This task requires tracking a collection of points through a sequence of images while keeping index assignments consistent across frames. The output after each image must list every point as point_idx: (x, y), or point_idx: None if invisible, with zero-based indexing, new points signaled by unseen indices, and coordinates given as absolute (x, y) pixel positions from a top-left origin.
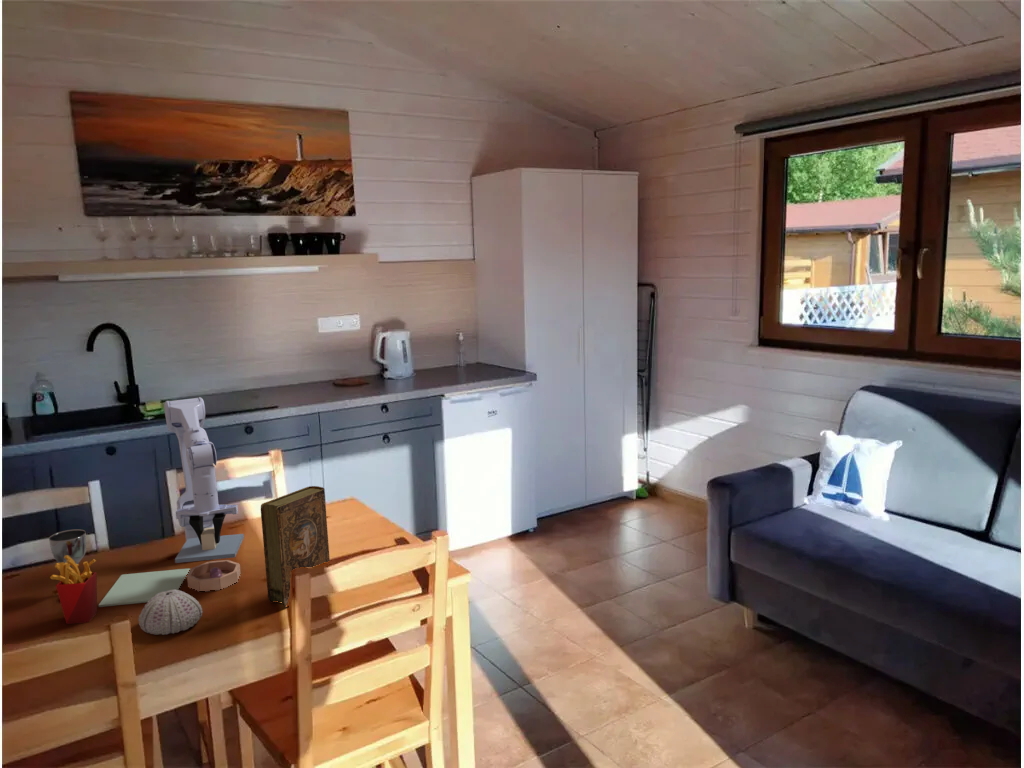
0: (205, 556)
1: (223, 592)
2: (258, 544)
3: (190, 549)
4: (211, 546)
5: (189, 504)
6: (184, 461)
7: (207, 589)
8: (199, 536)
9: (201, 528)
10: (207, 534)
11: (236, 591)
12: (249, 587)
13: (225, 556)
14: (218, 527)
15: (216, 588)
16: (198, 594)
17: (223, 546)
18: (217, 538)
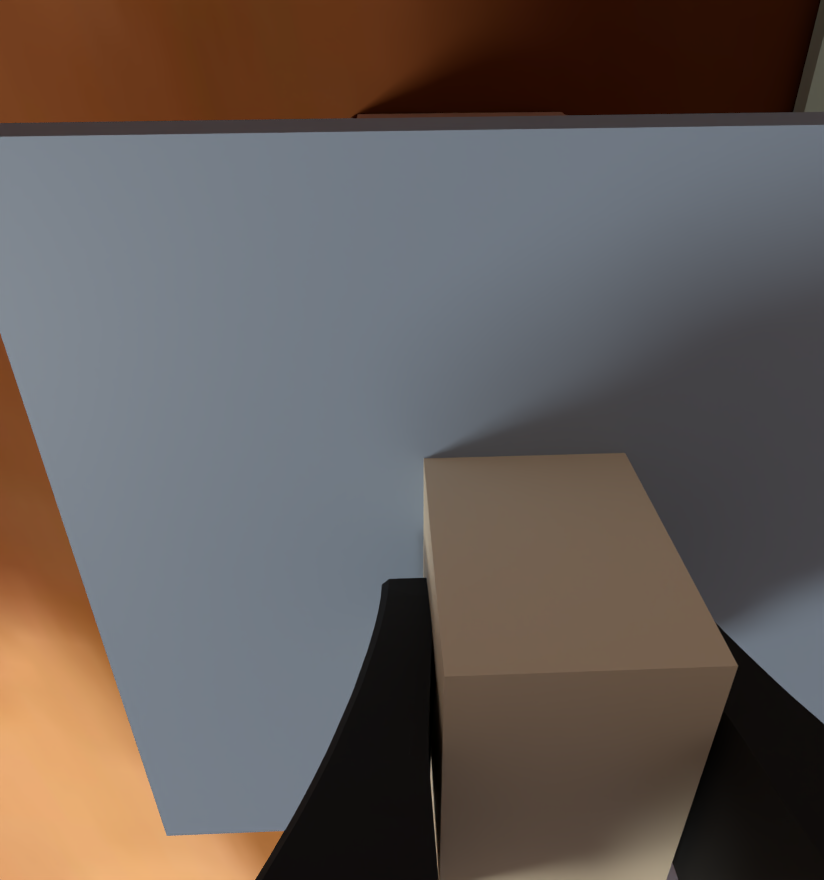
0: (543, 125)
1: (307, 34)
2: (270, 835)
3: (806, 513)
4: (480, 487)
5: None
6: None
7: (488, 116)
8: (741, 677)
9: (746, 873)
10: (583, 669)
11: (164, 26)
12: (52, 109)
13: (147, 126)
14: (319, 852)
15: (395, 115)
16: (571, 47)
17: (303, 526)
18: (385, 633)
